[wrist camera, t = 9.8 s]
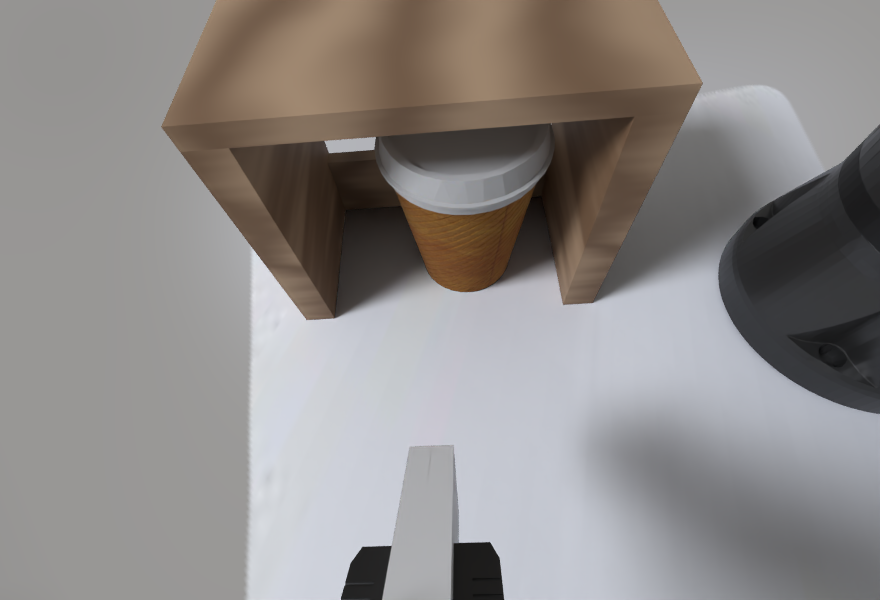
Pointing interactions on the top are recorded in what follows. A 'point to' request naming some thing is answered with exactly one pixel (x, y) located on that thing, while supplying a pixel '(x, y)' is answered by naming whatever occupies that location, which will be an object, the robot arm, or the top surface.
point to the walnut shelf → (426, 115)
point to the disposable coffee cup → (466, 195)
